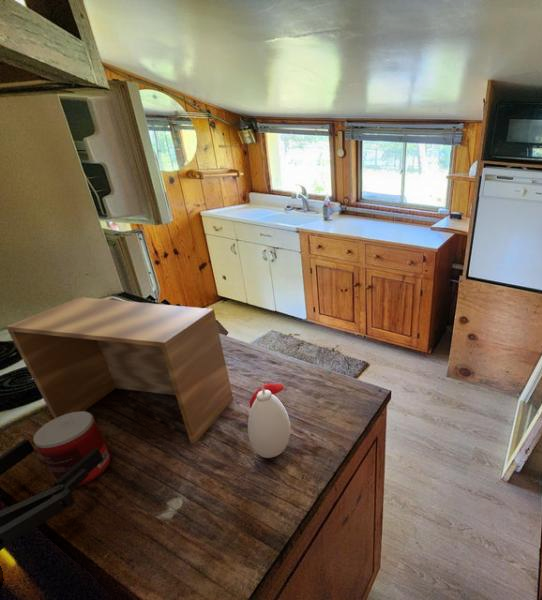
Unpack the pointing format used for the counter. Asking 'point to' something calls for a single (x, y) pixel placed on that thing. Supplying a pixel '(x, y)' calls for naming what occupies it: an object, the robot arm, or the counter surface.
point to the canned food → (71, 444)
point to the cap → (271, 387)
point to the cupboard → (126, 356)
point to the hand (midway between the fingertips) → (64, 449)
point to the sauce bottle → (268, 425)
